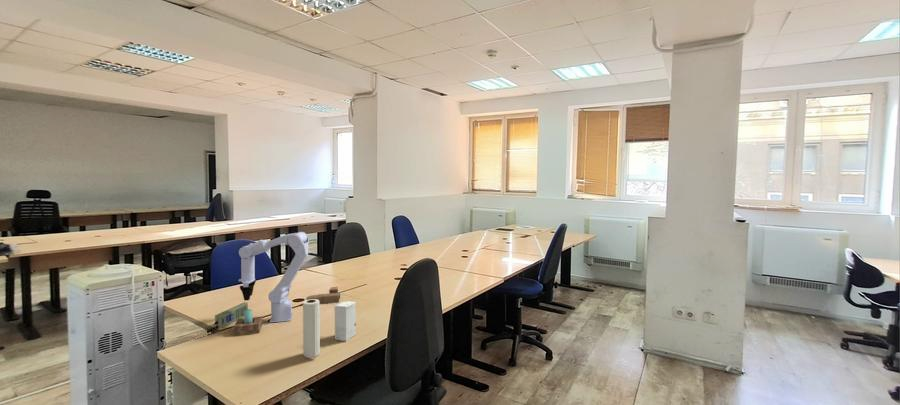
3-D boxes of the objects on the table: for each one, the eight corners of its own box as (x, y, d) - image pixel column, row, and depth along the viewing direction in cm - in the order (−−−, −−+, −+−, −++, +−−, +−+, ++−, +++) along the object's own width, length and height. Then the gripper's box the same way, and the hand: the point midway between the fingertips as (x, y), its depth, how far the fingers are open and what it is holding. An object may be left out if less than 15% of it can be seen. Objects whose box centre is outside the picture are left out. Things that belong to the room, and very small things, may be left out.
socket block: (262, 324, 182) (262, 316, 181) (259, 333, 172) (259, 324, 172) (238, 327, 178) (237, 318, 178) (233, 335, 169) (233, 326, 169)
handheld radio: (249, 315, 195) (211, 334, 170) (243, 315, 195) (204, 334, 171) (248, 302, 195) (210, 319, 170) (242, 302, 195) (203, 319, 170)
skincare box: (346, 341, 164) (346, 307, 164) (333, 339, 166) (333, 305, 165) (356, 334, 172) (356, 301, 172) (344, 332, 174) (344, 299, 173)
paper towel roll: (307, 350, 155) (306, 298, 154) (322, 351, 155) (321, 298, 154) (299, 359, 148) (299, 304, 147) (315, 359, 148) (314, 304, 147)
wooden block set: (340, 293, 216) (306, 296, 210) (340, 303, 216) (306, 306, 211) (339, 285, 232) (307, 287, 226) (339, 294, 232) (307, 296, 227)
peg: (253, 328, 178) (252, 309, 177) (251, 331, 174) (251, 311, 174) (244, 329, 176) (244, 309, 176) (243, 332, 173) (243, 312, 173)
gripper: (241, 267, 193) (241, 294, 194) (235, 274, 180) (236, 303, 181) (257, 266, 196) (257, 293, 197) (252, 273, 182) (252, 301, 183)
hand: (248, 297), depth 189 cm, fingers open, 7 cm apart
